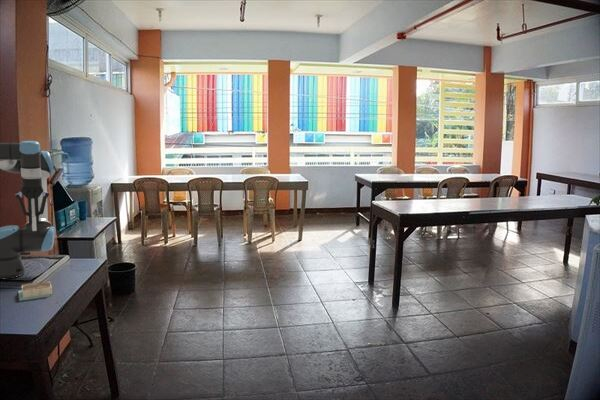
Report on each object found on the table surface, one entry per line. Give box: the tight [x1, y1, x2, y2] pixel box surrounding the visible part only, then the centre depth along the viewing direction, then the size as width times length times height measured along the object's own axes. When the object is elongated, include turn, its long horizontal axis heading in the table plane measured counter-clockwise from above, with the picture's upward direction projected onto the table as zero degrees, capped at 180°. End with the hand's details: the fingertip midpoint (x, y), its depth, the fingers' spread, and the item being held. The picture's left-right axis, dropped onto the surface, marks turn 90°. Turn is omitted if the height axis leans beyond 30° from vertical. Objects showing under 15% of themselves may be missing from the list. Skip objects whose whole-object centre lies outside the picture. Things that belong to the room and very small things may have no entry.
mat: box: [18, 289, 51, 302], centre depth 205 cm, size 11×12×1 cm
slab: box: [21, 280, 53, 298], centre depth 206 cm, size 8×3×11 cm
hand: (34, 229), depth 208 cm, fingers closed
